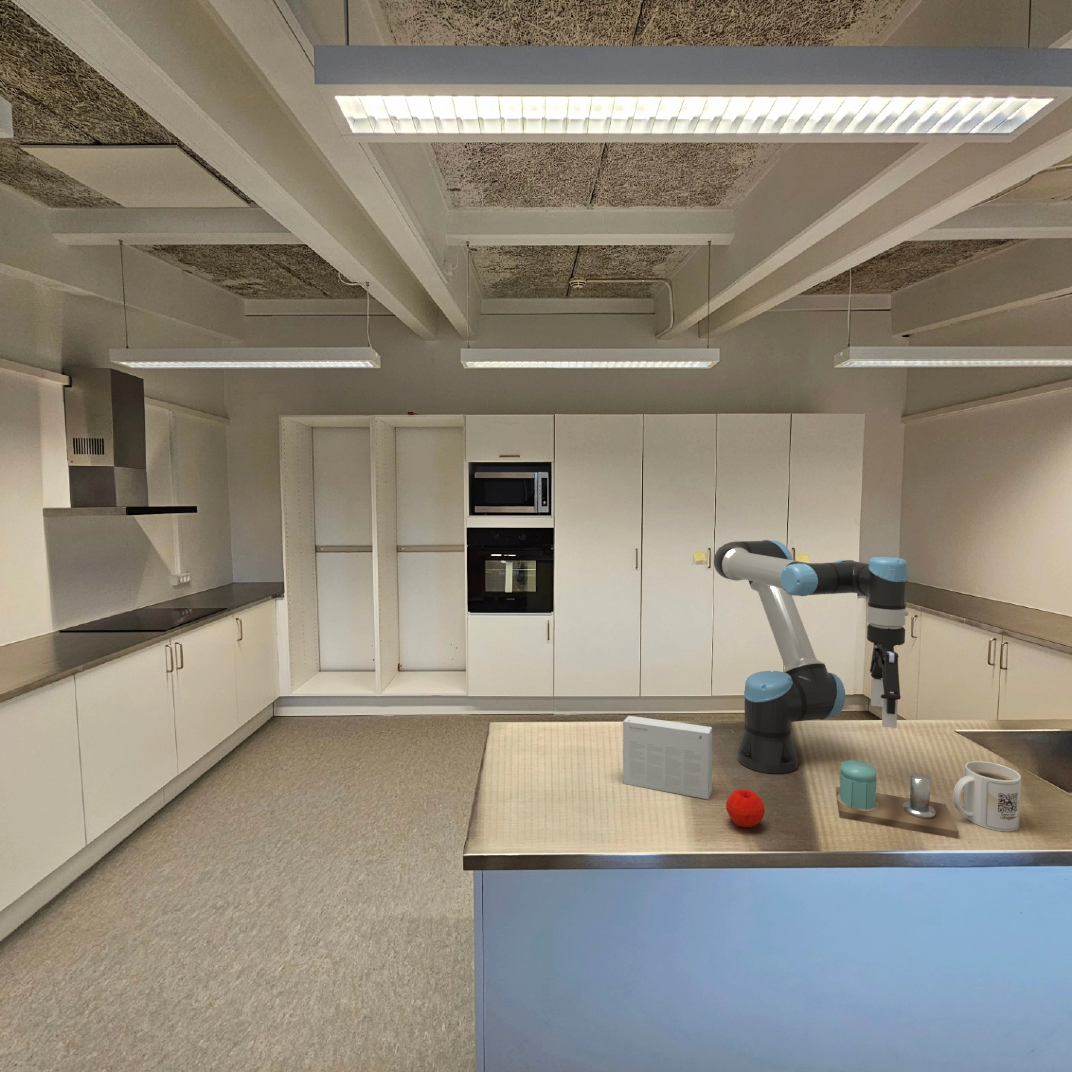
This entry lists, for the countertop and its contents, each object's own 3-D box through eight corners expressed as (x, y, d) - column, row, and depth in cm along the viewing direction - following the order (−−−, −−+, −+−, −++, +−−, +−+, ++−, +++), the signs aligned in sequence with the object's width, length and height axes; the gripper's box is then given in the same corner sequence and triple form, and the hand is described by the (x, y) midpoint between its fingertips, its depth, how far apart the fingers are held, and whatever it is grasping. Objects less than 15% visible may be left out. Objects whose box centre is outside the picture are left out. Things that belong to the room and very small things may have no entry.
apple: (743, 838, 126) (743, 804, 126) (717, 820, 133) (717, 787, 133) (772, 829, 129) (772, 796, 129) (745, 812, 137) (746, 780, 136)
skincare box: (712, 790, 147) (713, 726, 146) (709, 800, 142) (709, 734, 141) (628, 774, 156) (628, 714, 155) (622, 783, 151) (621, 721, 150)
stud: (905, 815, 131) (906, 780, 131) (901, 802, 137) (902, 769, 136) (938, 821, 129) (939, 785, 129) (932, 807, 135) (933, 773, 134)
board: (838, 817, 134) (838, 810, 134) (835, 792, 145) (835, 786, 145) (958, 838, 125) (958, 831, 125) (945, 810, 136) (945, 803, 136)
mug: (1022, 838, 125) (1025, 786, 124) (952, 822, 131) (953, 773, 131) (1015, 815, 134) (1017, 766, 133) (949, 801, 140) (951, 755, 139)
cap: (841, 805, 136) (842, 770, 135) (839, 791, 142) (840, 758, 142) (876, 811, 133) (877, 776, 133) (873, 796, 140) (874, 763, 139)
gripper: (919, 639, 125) (915, 739, 127) (893, 615, 149) (890, 699, 150) (878, 636, 128) (874, 734, 130) (858, 613, 151) (856, 696, 153)
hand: (882, 716), depth 140 cm, fingers open, 13 cm apart
